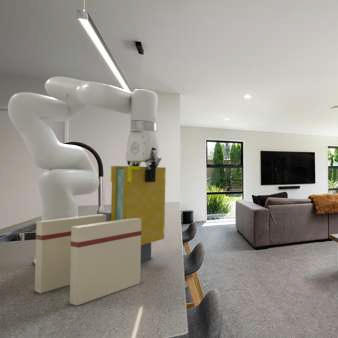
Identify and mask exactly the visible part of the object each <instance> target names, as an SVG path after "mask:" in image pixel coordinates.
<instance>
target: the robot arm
mask: <svg viewBox="0 0 338 338" xmlns="http://www.w3.org/2000/svg"><path fill="white" fill-rule="evenodd" d="M44 89H45V91H46V93H47V94H48V95H49V96H48V95H44V94H39V93H36V92H27V91H25V92H24V91H22V92H17V93H15V94H13V95H11V97H10V99H9V101H8V104H7V114H8V117H9V120H10V122H11V123H12V125H13V126H14V128H15V129H16V131H17V132H18V134H19V135H20V136H21V138H22V140H23V142H24V145H25V147H26V149H27V151H28V153H29V155H30V157H31V160H32V161H33V163H34V165H35V166H36V167H37V168H39V169H42V170H46V171H44V172H43V173H42V174H40V176H39V177H38V179H37V187H38V191H39V195H40V200H41V221H44V220H53V219H61V218H70V217H79V206H78V203H77V202H76V200H75V199H74V197H73V196H83V195H90V194H93V193H95V192H96V191H98V189H99V186H100V178H99V175H98V173H97V171H96V169H95V166H94V164H93V163H92V160H91V159H90V156H89V154H88V153H87V151H86V150H85V149H84V148H82V147H81V146H78V145H75V144H66V143H62V142H60V140H59V139H58V138H57V136H56V132H55V131H54V130H53V129H52V128H51V127H50V126H49V124H46V122H44V121H43V120H47V121H53V122H58V123H66V122H67V123H68V122H71V121H72V120H74V119H75V118H77V117H78V116H79V115H81V114H82V113H84V112H85V111H87V110H88V109H89V108H93V107H97V108H101V109H104V110H110V111H114V112H118V113H121V114H126V115H130V131H129V133H128V137H127V141H126V152H125V160H126V163H127V166H140V167H141V163H144V164H145V167H147V169H148V170H145V182H155V179H156V170H157V167H159V165H160V162H161V160H162V156H161V155H160V154H159V135H158V116H159V115H158V110H159V109H158V108H159V96H158V93H156V92H155V91H152V90H149V89H143V88H137V89H134V90H132V92H131V91H129V90H126V89H123V88H120V87H117V86H114V85H110V84H106V83H102V82H96V81H91V80H87V81H86V80H82V79H77V78H72V77H67V76H52V77H50V78H48V79H47V80H46V81H45V83H44ZM35 261H36V258H35V259H34V260H33V264H35Z"/></svg>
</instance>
